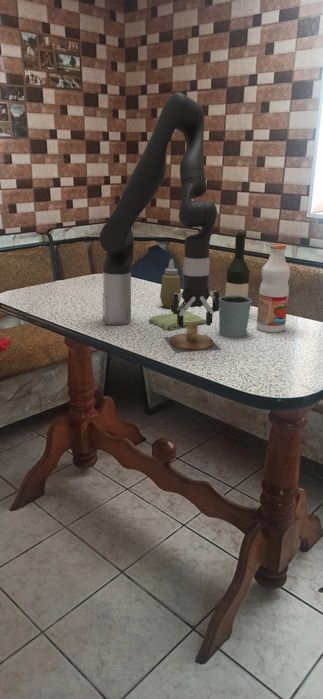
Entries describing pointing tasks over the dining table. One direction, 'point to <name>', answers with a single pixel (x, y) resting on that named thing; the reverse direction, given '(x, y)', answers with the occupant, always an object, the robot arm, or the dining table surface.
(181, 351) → the mat
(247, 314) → the grey-blue cup
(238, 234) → the wine bottle
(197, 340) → the lid
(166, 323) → the washcloth
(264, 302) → the fruit juice
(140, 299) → the dining table surface
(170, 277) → the squeeze bottle
